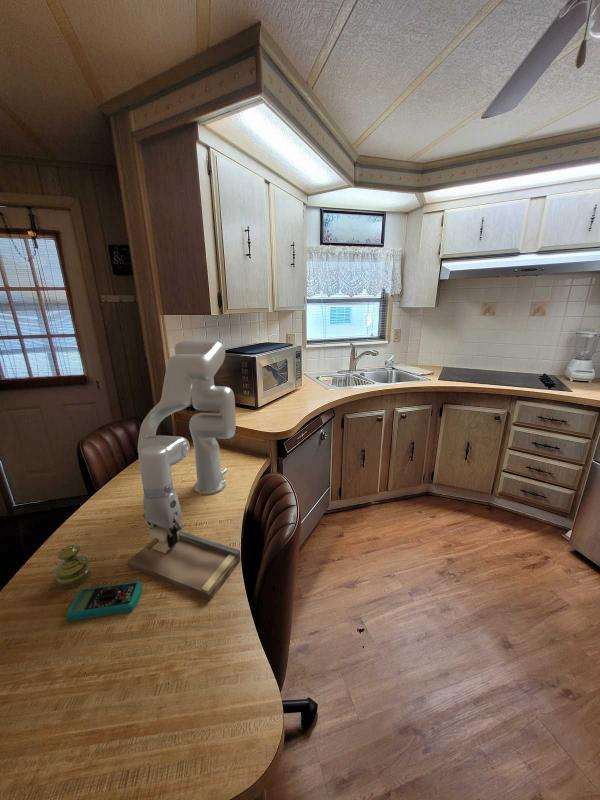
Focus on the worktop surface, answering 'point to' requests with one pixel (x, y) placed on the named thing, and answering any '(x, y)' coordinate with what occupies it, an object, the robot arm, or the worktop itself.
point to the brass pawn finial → (72, 567)
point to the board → (189, 564)
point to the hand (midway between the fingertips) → (165, 541)
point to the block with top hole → (159, 539)
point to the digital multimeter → (104, 601)
